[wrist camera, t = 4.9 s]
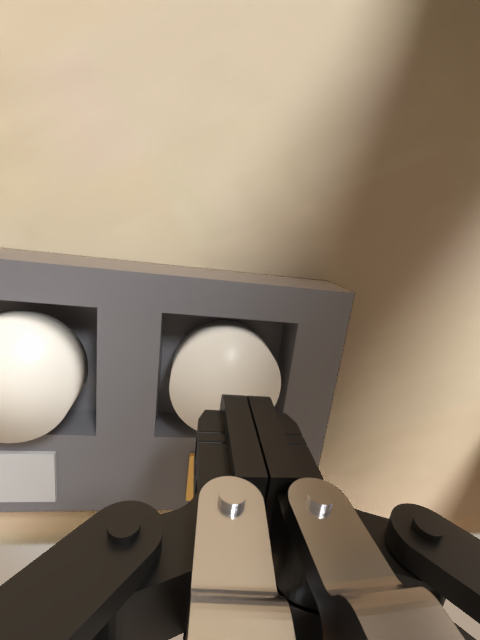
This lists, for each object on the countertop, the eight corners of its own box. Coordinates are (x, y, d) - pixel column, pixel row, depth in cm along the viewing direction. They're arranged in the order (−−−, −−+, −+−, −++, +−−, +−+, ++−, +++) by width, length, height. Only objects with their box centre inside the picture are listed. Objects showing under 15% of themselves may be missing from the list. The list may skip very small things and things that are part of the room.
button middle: (-29, 412, 14) (-64, 442, 12) (-40, 304, 13) (-79, 319, 11) (88, 415, 15) (73, 444, 13) (88, 314, 14) (72, 329, 12)
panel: (-249, 462, 16) (-353, 520, 13) (-323, 215, 13) (-480, 213, 10) (292, 467, 20) (310, 511, 17) (327, 280, 17) (357, 294, 14)
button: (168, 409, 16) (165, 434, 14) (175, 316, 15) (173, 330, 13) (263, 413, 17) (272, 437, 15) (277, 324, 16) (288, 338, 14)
